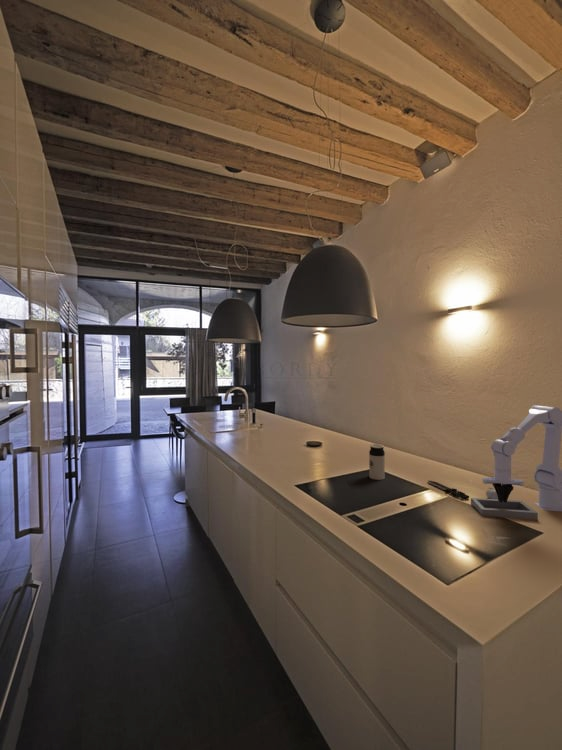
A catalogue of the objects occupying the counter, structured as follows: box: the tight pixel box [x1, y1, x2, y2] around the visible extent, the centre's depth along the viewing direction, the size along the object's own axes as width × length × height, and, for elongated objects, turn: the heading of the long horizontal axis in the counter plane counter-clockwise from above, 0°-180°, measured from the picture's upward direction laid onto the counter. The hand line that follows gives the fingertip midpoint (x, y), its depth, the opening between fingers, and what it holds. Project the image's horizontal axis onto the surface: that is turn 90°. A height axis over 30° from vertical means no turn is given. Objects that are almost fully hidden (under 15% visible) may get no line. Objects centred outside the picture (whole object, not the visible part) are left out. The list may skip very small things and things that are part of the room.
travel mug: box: [368, 443, 386, 481], centre depth 182 cm, size 8×8×18 cm
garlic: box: [485, 487, 498, 499], centre depth 153 cm, size 6×5×5 cm
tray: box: [470, 497, 539, 521], centre depth 139 cm, size 20×12×3 cm, turn 79°
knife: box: [427, 480, 470, 500], centre depth 164 cm, size 25×6×1 cm, turn 10°
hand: (502, 501), depth 139 cm, fingers closed
